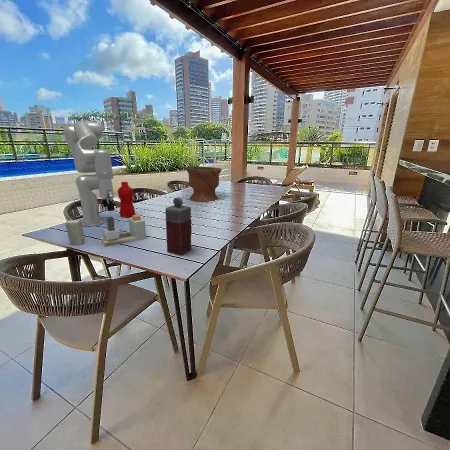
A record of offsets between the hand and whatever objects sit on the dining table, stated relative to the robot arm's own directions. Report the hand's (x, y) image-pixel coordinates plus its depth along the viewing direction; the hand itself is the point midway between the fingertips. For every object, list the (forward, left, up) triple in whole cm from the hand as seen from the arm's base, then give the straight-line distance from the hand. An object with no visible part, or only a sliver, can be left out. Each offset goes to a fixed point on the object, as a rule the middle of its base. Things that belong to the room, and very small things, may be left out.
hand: (109, 208), depth 130 cm
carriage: (0, 0, -17) cm, 17 cm away
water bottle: (-43, +22, -19) cm, 52 cm away
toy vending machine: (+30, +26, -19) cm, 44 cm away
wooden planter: (-65, +101, -19) cm, 122 cm away
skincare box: (-8, -16, -19) cm, 26 cm away
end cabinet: (0, +14, -17) cm, 22 cm away
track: (0, +6, -19) cm, 20 cm away
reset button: (0, +14, -9) cm, 17 cm away
